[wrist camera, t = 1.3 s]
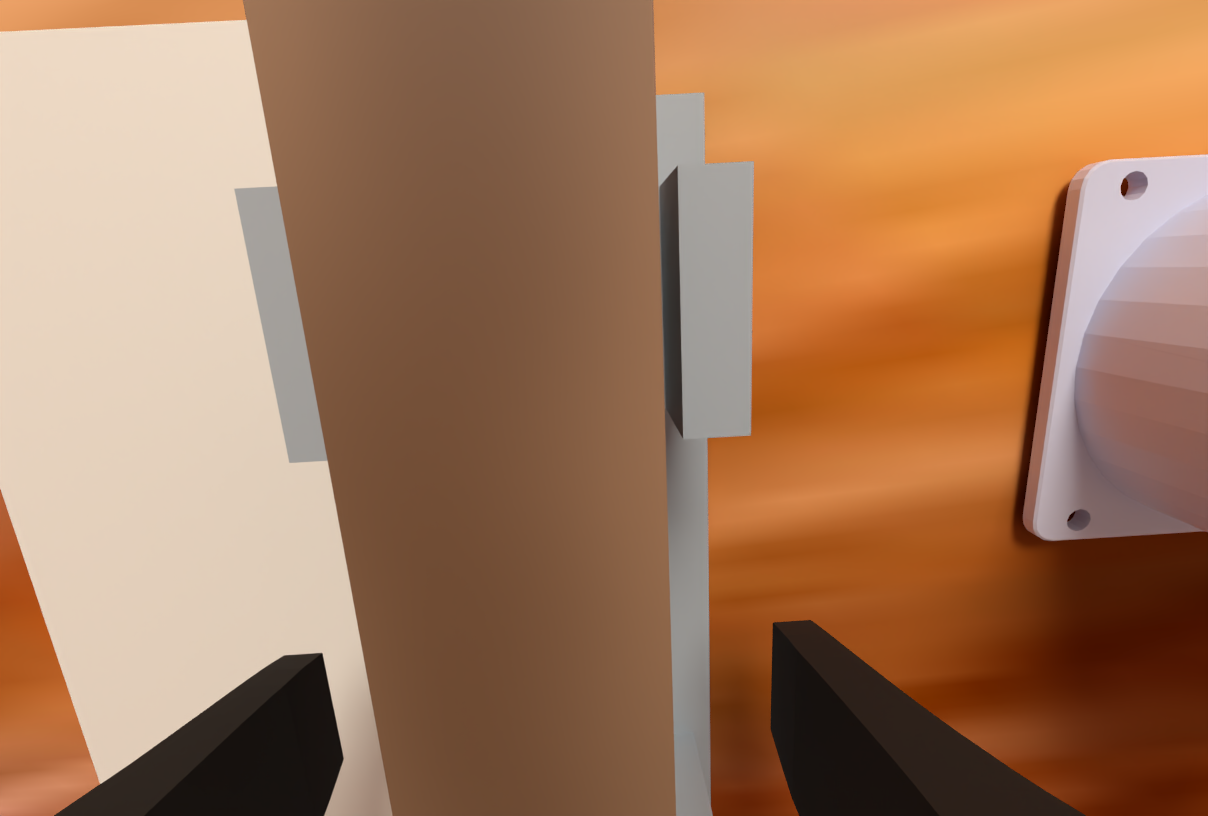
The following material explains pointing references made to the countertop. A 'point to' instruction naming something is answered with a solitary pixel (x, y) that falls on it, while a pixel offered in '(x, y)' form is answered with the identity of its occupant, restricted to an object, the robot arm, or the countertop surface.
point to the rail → (488, 383)
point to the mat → (157, 395)
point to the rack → (691, 379)
